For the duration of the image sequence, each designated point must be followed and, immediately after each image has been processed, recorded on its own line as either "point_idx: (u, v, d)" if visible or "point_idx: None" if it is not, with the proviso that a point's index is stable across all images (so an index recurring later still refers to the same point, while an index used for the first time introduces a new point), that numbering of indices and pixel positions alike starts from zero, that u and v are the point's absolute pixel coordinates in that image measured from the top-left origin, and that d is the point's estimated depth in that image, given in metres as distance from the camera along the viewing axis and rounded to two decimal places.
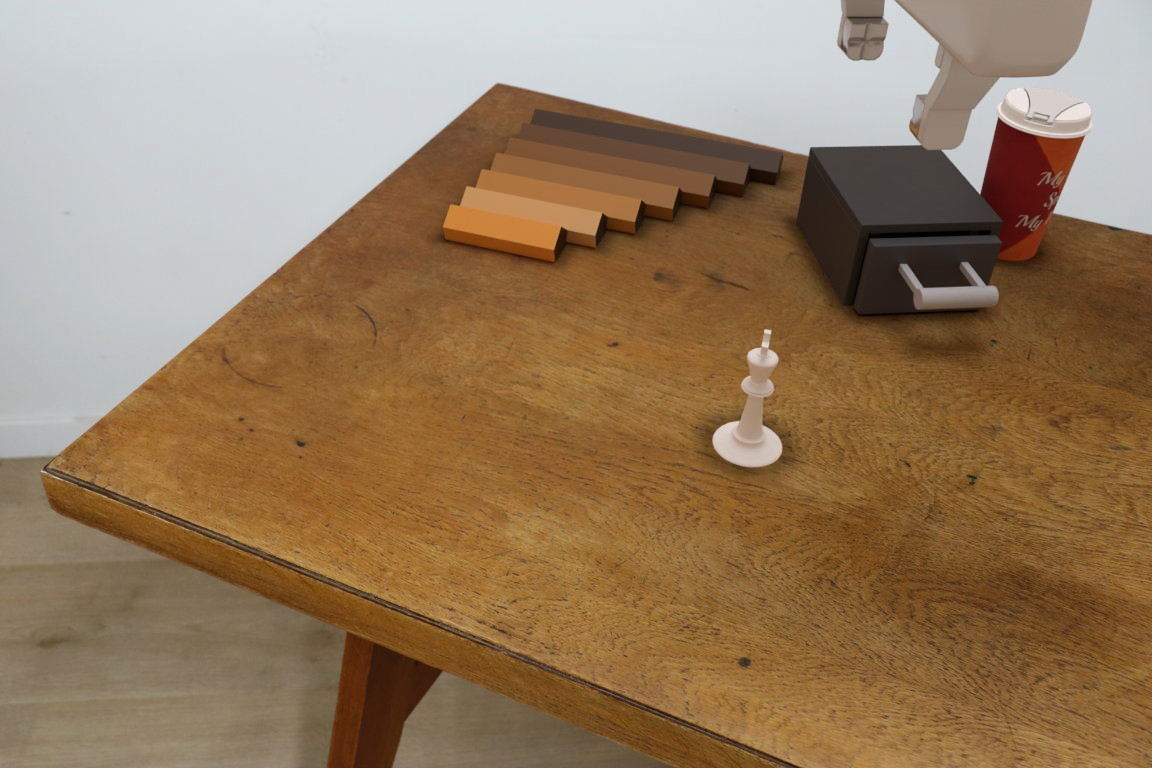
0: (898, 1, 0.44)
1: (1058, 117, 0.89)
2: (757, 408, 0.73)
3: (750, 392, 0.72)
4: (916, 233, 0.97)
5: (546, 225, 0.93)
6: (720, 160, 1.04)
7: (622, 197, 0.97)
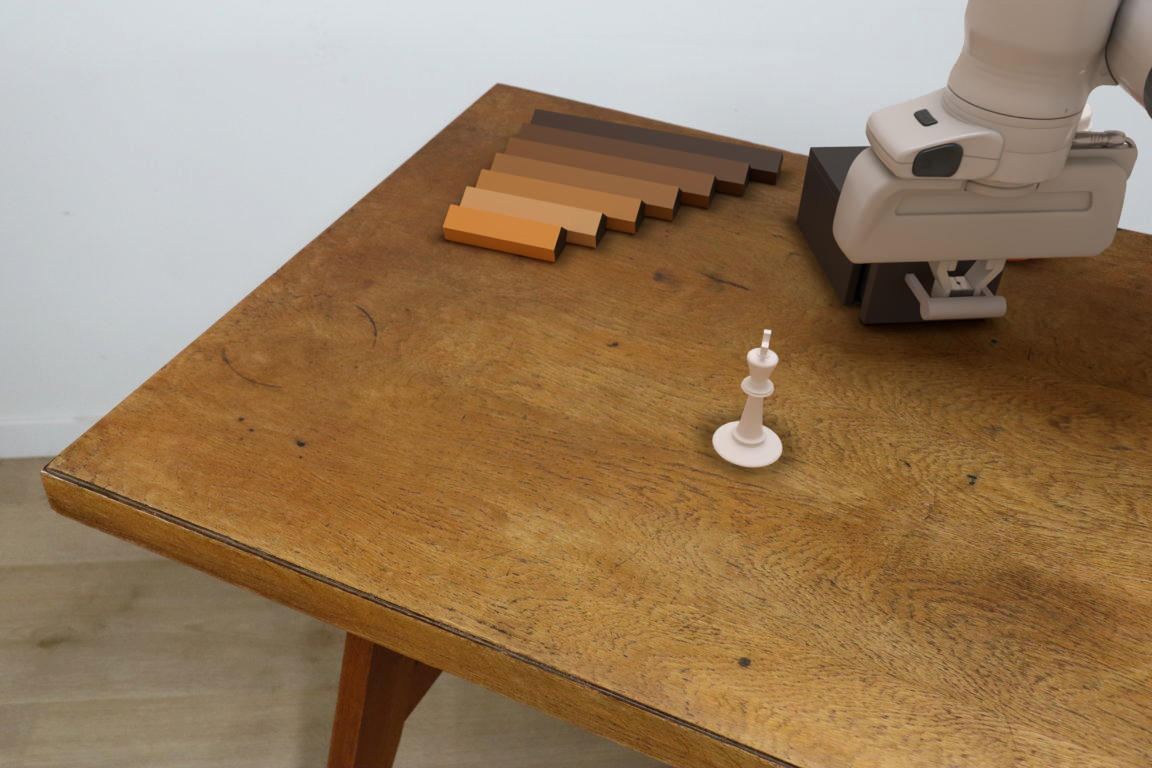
0: (1008, 257, 0.80)
1: None
2: (757, 408, 0.73)
3: (750, 392, 0.72)
4: None
5: (546, 225, 0.93)
6: (720, 160, 1.04)
7: (622, 197, 0.97)
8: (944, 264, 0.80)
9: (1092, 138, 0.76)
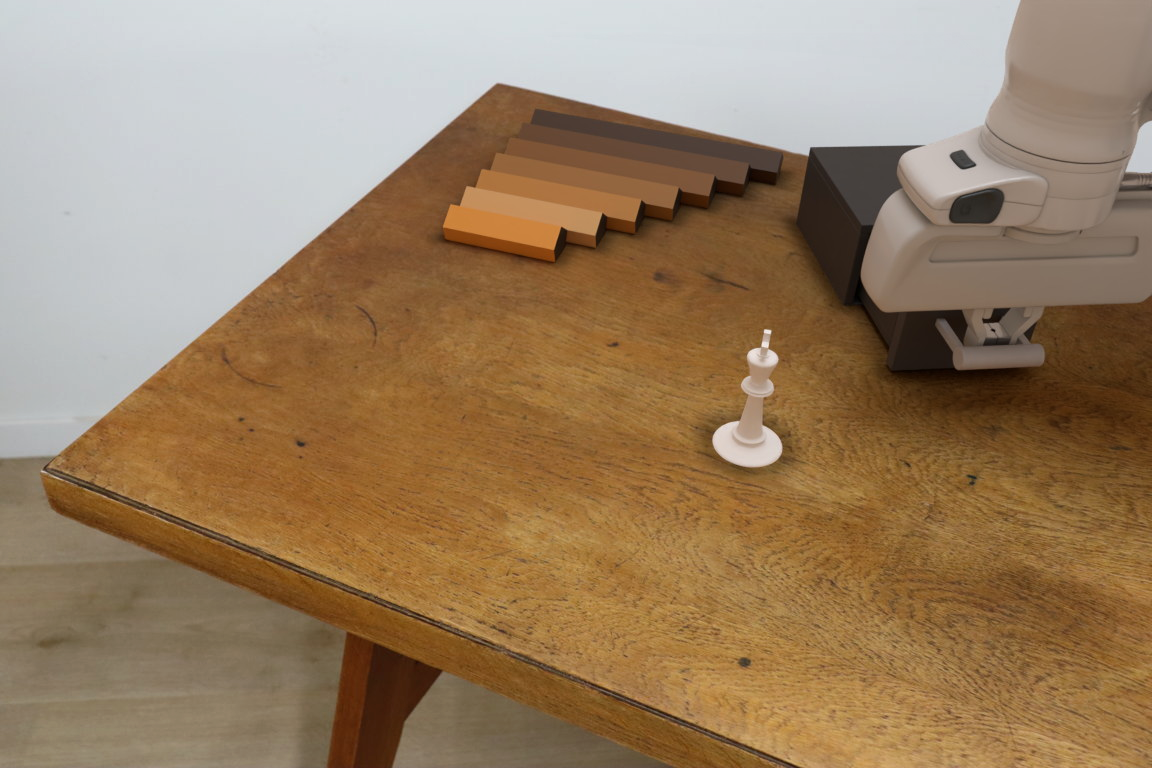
0: (1048, 304, 0.75)
1: None
2: (757, 408, 0.73)
3: (750, 392, 0.72)
4: None
5: (546, 225, 0.93)
6: (720, 160, 1.04)
7: (622, 197, 0.97)
8: (979, 312, 0.75)
9: (1139, 180, 0.71)
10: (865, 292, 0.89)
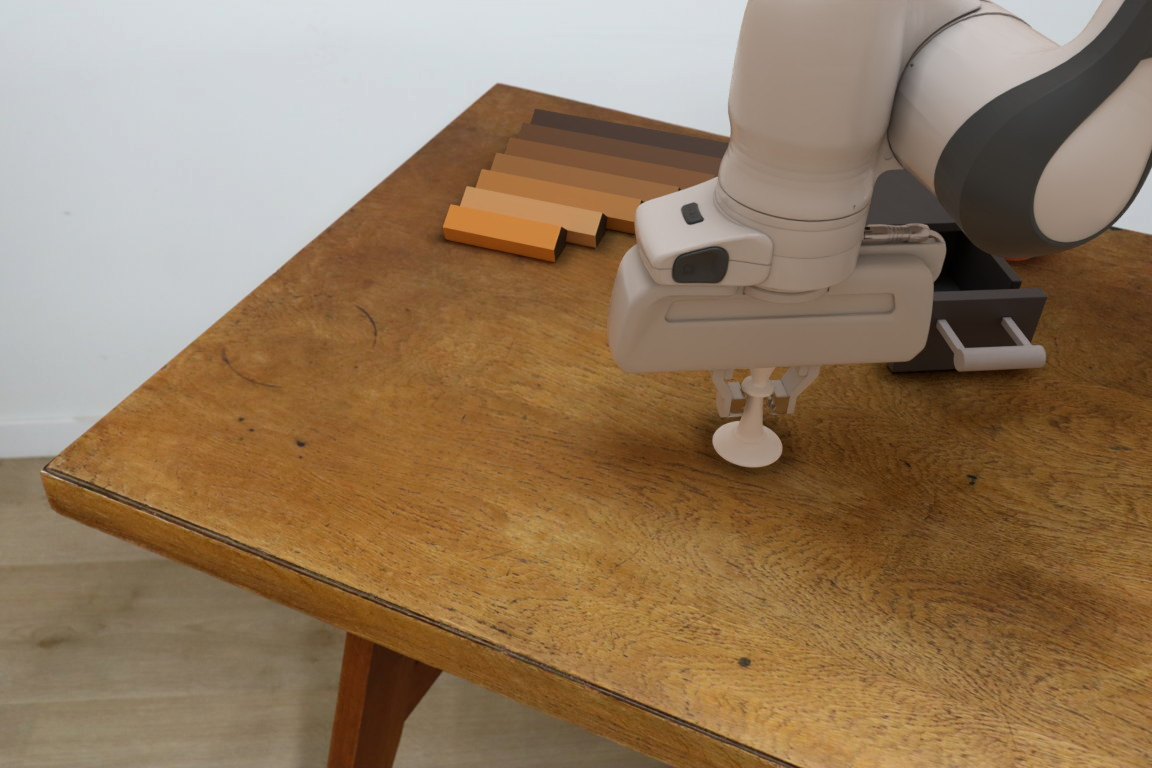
0: (805, 364, 0.70)
1: None
2: (757, 408, 0.73)
3: (750, 392, 0.72)
4: (950, 279, 0.91)
5: (546, 225, 0.93)
6: (720, 160, 1.04)
7: (622, 197, 0.97)
8: (719, 372, 0.70)
9: (890, 233, 0.66)
10: None
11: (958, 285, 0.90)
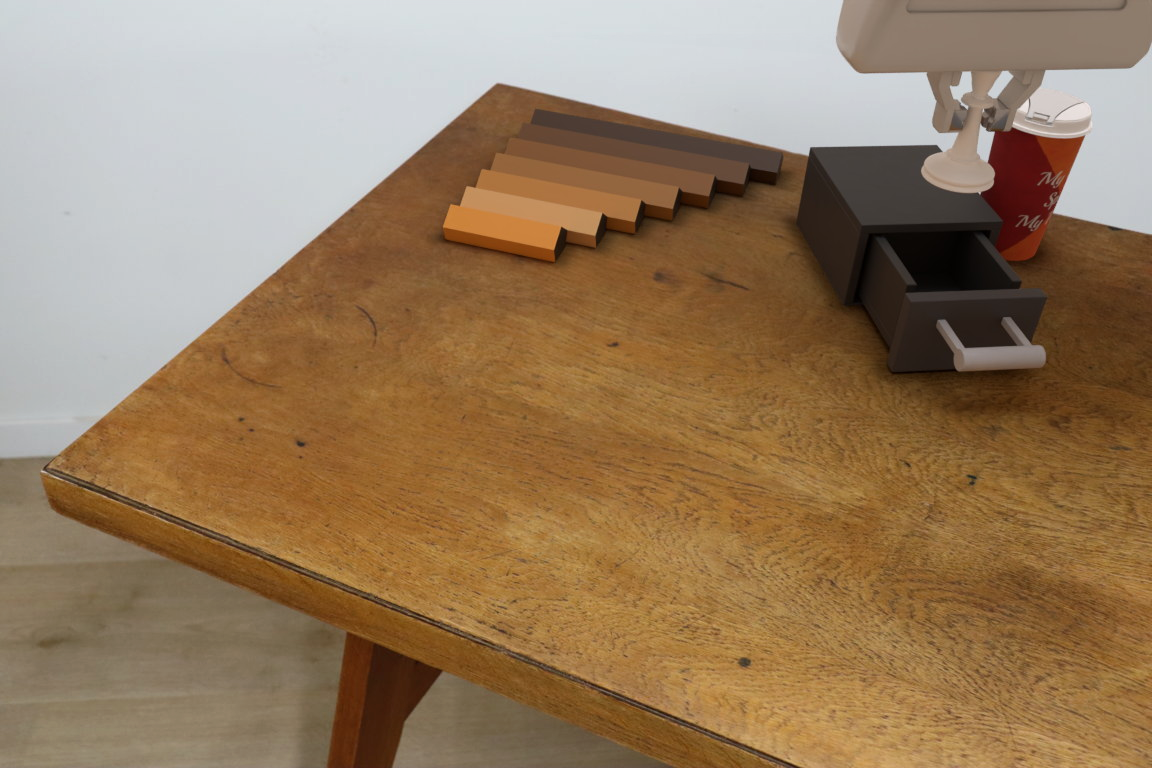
0: (1033, 67, 0.71)
1: (1058, 117, 0.89)
2: (976, 124, 0.74)
3: (972, 103, 0.73)
4: (950, 279, 0.91)
5: (546, 225, 0.93)
6: (720, 160, 1.04)
7: (622, 197, 0.97)
8: (946, 78, 0.71)
9: None
10: (866, 293, 0.88)
11: (958, 285, 0.90)
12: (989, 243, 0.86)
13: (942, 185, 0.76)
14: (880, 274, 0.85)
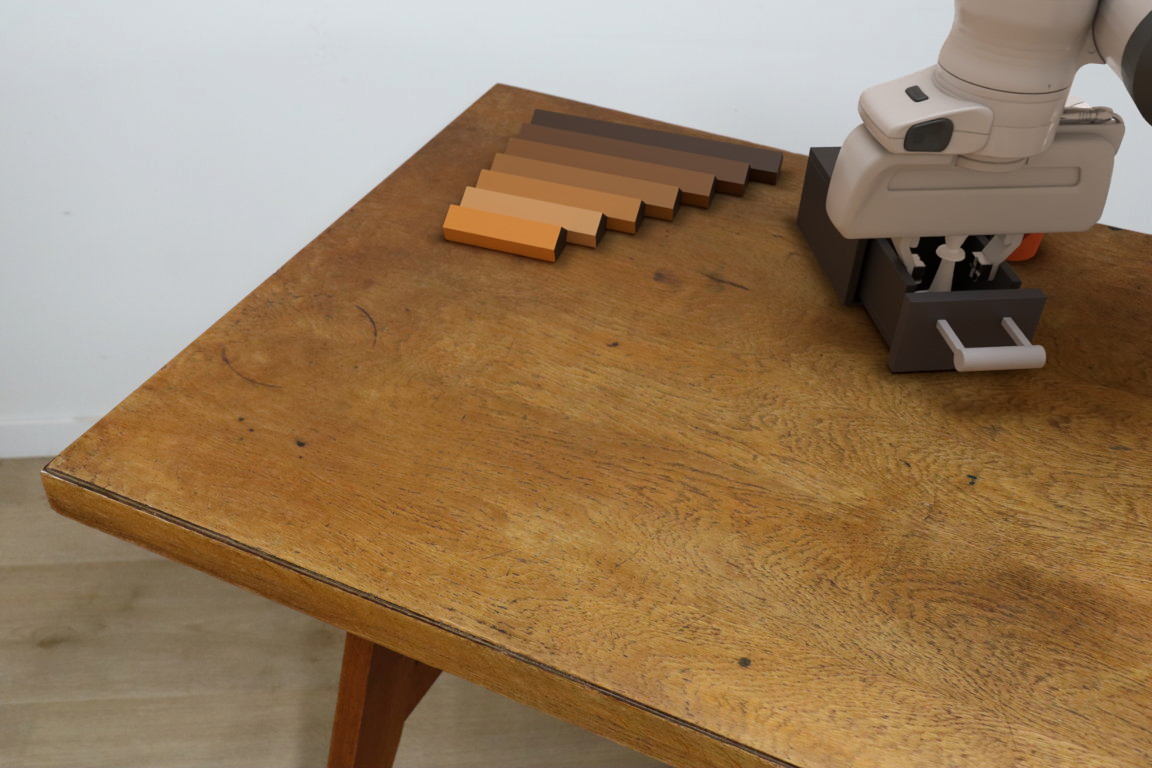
0: (999, 232, 0.81)
1: None
2: (949, 273, 0.84)
3: (946, 257, 0.83)
4: None
5: (546, 225, 0.93)
6: (720, 160, 1.04)
7: (622, 197, 0.97)
8: (906, 241, 0.81)
9: (1080, 114, 0.77)
10: (866, 293, 0.88)
11: (958, 285, 0.90)
12: None
13: None
14: (880, 274, 0.85)
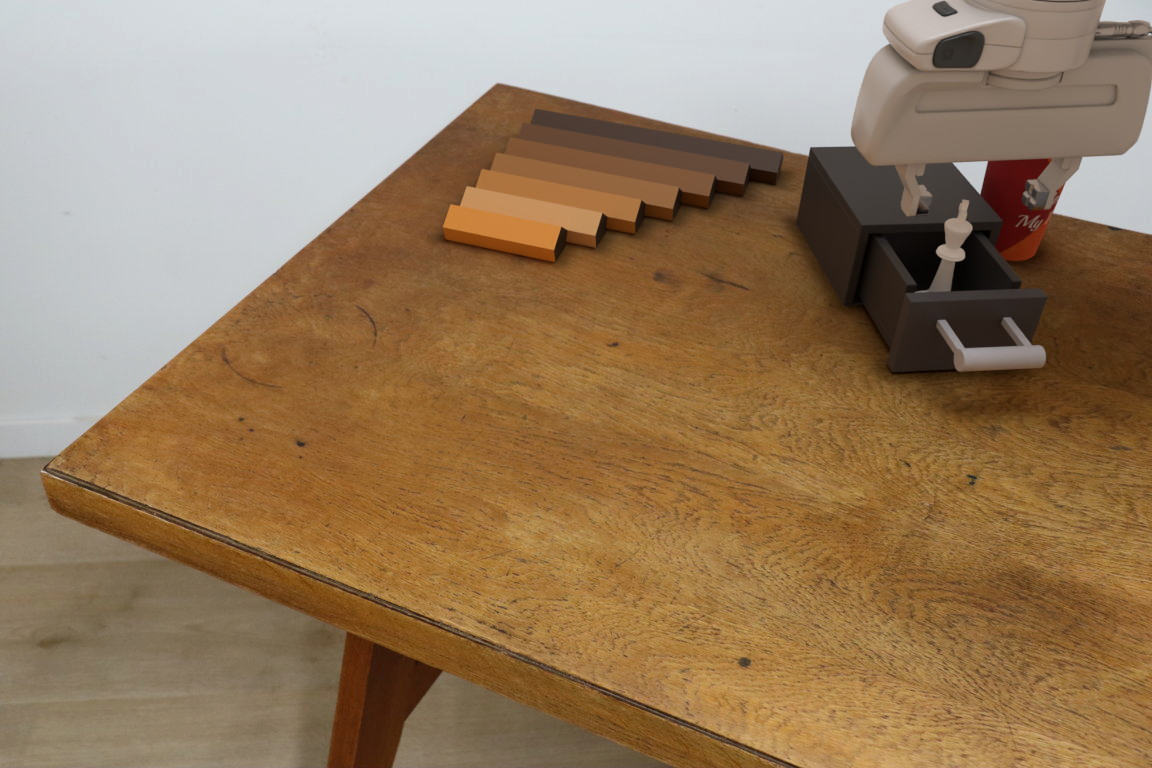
0: (1032, 157, 0.78)
1: None
2: (949, 273, 0.84)
3: (946, 257, 0.83)
4: None
5: (546, 225, 0.93)
6: (720, 160, 1.04)
7: (622, 197, 0.97)
8: (912, 169, 0.78)
9: (1116, 28, 0.74)
10: (866, 293, 0.88)
11: (958, 285, 0.90)
12: (989, 243, 0.86)
13: None
14: (880, 274, 0.85)
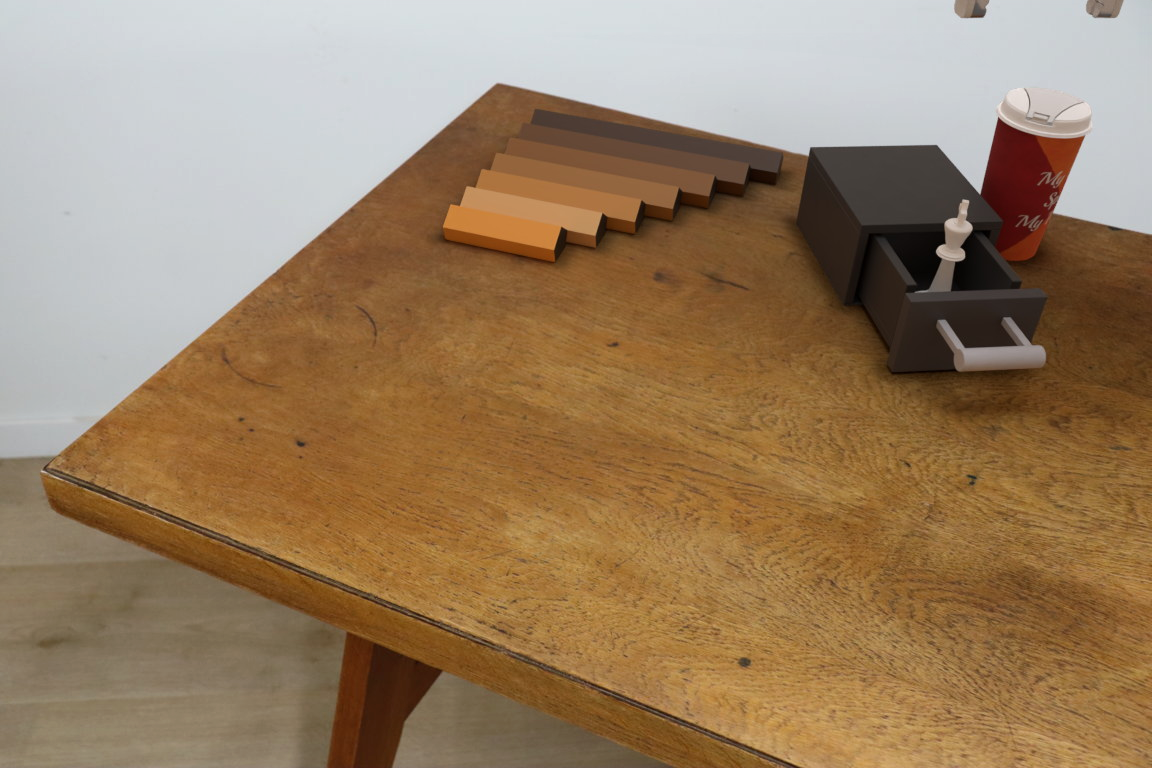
0: None
1: (1058, 117, 0.89)
2: (949, 273, 0.84)
3: (946, 257, 0.83)
4: None
5: (546, 225, 0.93)
6: (720, 160, 1.04)
7: (622, 197, 0.97)
8: None
9: None
10: (866, 293, 0.88)
11: (958, 285, 0.90)
12: (989, 243, 0.86)
13: None
14: (880, 274, 0.85)
